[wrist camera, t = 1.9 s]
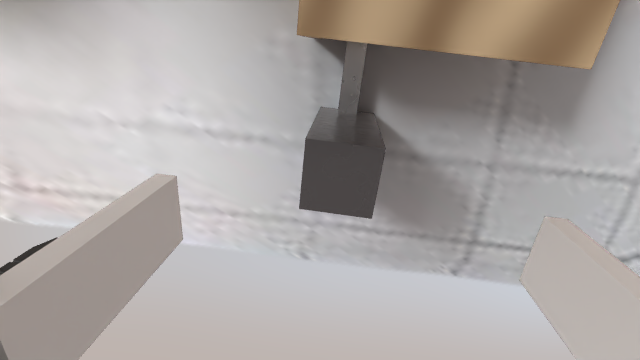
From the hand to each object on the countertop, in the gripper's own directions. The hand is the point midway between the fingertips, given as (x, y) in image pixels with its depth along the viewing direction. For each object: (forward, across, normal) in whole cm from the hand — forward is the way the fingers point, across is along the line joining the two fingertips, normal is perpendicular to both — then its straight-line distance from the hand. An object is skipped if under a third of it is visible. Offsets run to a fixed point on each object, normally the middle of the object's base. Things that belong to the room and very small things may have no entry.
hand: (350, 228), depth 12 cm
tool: (+17, 0, +7) cm, 18 cm away
